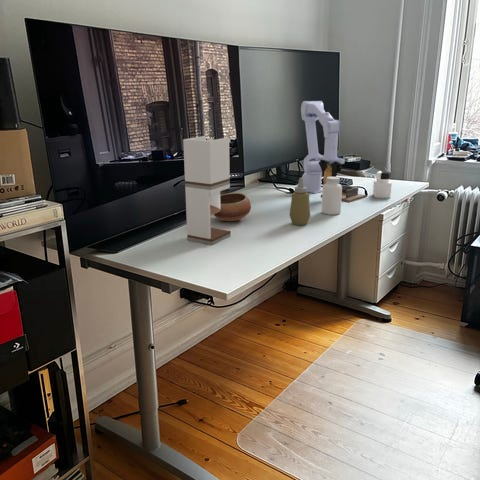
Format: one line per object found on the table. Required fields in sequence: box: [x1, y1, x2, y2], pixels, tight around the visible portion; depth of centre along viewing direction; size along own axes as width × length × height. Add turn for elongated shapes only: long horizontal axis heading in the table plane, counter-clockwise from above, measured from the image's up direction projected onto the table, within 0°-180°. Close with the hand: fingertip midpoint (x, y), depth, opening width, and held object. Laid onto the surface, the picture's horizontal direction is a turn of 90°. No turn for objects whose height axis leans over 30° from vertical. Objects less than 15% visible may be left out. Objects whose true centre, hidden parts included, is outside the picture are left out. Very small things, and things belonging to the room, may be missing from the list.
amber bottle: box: [323, 162, 332, 185], centre depth 224 cm, size 5×5×10 cm
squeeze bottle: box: [289, 177, 311, 226], centre depth 187 cm, size 8×8×18 cm
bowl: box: [212, 192, 252, 222], centre depth 194 cm, size 16×16×10 cm
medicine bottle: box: [372, 170, 392, 199], centre depth 232 cm, size 7×7×12 cm
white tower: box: [182, 135, 231, 246], centre depth 168 cm, size 11×11×35 cm
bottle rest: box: [320, 184, 367, 203], centre depth 232 cm, size 16×14×4 cm
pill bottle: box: [321, 176, 342, 216], centre depth 203 cm, size 8×8×15 cm
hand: (329, 177), depth 225 cm, fingers closed on amber bottle, 5 cm apart
